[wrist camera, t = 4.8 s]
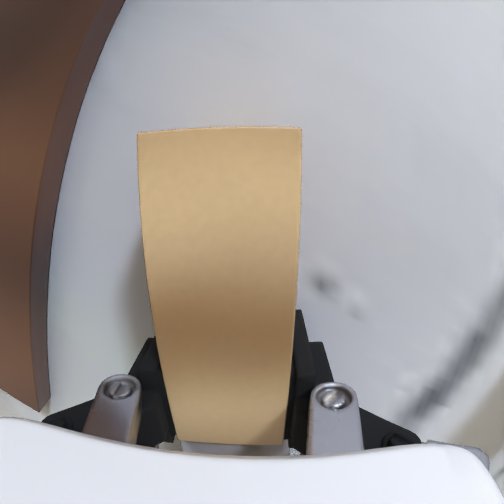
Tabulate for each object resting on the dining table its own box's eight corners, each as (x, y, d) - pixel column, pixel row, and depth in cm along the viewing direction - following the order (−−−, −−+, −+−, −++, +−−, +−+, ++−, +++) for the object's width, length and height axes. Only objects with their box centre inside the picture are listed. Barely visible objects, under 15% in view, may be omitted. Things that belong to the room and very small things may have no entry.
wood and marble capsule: (166, 139, 10) (107, 134, 6) (301, 137, 10) (331, 127, 6) (207, 486, 16) (199, 542, 12) (277, 489, 16) (278, 545, 11)
